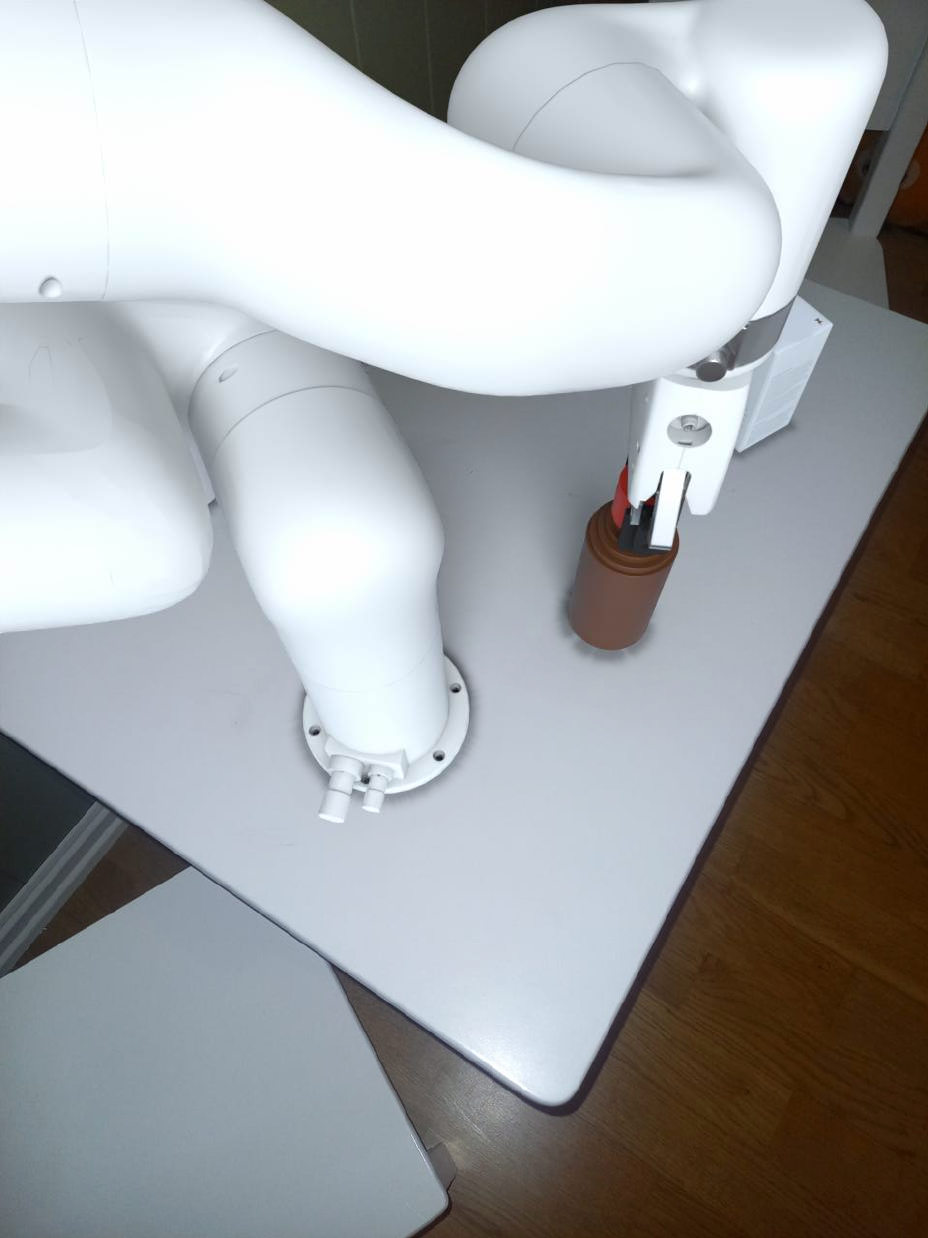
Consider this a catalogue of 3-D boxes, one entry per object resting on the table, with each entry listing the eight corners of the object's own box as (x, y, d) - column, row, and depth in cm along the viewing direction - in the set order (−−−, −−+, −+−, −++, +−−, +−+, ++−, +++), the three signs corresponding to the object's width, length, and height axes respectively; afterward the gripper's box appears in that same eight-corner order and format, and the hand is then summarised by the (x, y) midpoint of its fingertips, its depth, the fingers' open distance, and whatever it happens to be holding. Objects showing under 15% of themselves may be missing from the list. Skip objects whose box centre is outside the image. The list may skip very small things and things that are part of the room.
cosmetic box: (757, 395, 79) (798, 291, 68) (788, 425, 77) (836, 323, 66) (706, 424, 77) (741, 322, 67) (737, 455, 76) (778, 355, 65)
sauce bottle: (656, 645, 66) (711, 524, 52) (576, 654, 66) (608, 534, 51) (638, 576, 69) (685, 443, 55) (561, 584, 69) (588, 452, 54)
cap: (659, 484, 56) (669, 453, 54) (678, 530, 55) (690, 501, 52) (603, 495, 56) (611, 464, 53) (621, 541, 54) (630, 512, 51)
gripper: (798, 443, 36) (699, 637, 52) (781, 189, 43) (699, 428, 60) (620, 427, 36) (577, 624, 53) (634, 180, 44) (593, 418, 60)
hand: (643, 518), depth 56 cm, fingers closed on cap, 3 cm apart
